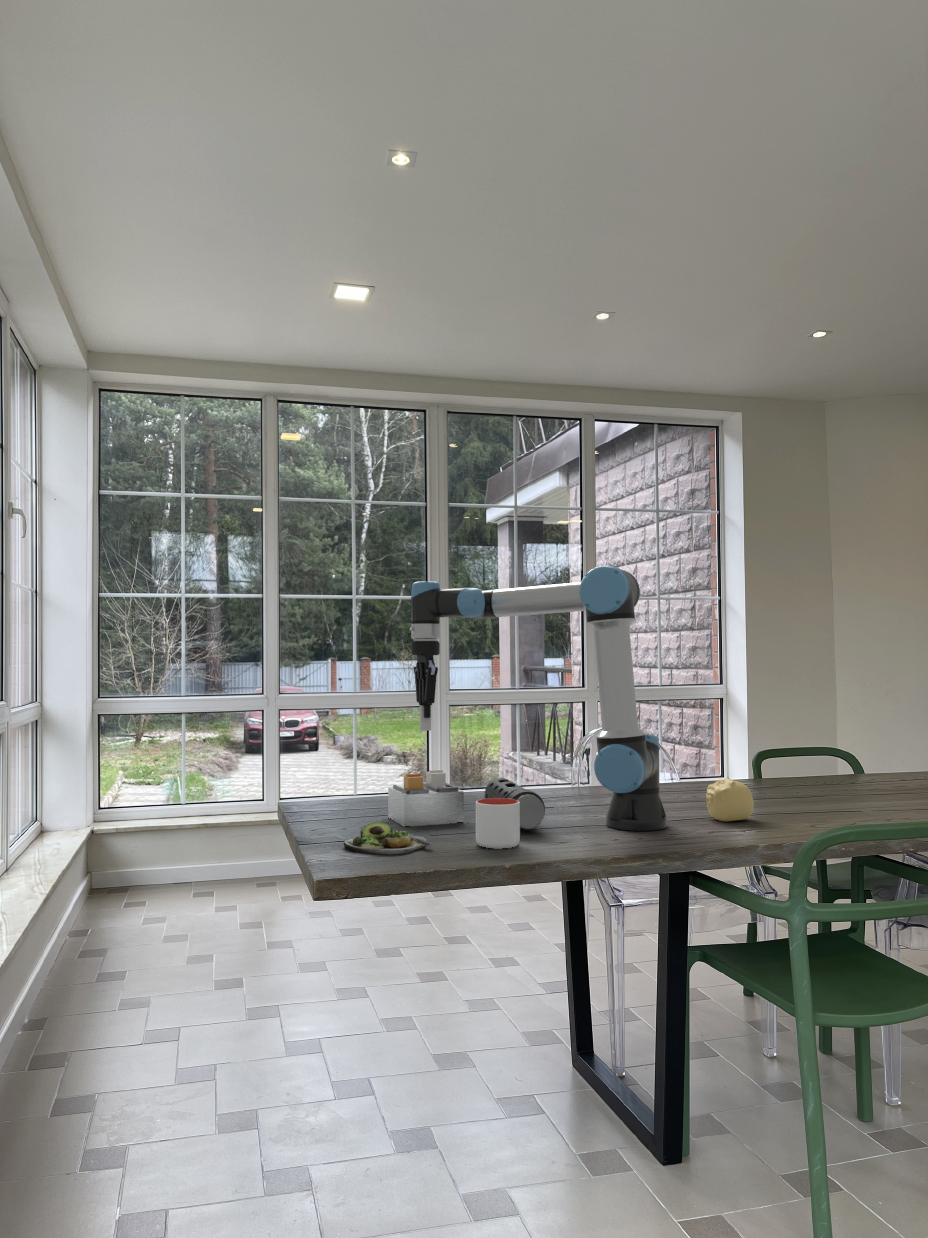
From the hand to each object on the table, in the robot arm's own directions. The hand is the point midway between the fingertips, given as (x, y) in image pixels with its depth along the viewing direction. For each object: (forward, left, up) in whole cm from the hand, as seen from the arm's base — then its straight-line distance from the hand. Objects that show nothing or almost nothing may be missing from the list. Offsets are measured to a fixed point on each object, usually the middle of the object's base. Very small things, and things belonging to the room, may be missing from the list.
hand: (425, 730), depth 242 cm
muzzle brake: (-14, -19, -24) cm, 33 cm away
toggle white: (+3, -4, -15) cm, 16 cm away
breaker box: (0, 0, -23) cm, 23 cm away
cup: (-36, -5, -24) cm, 43 cm away
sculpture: (-29, -74, -24) cm, 83 cm away
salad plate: (-27, +19, -24) cm, 41 cm away
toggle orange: (-2, +4, -15) cm, 16 cm away
